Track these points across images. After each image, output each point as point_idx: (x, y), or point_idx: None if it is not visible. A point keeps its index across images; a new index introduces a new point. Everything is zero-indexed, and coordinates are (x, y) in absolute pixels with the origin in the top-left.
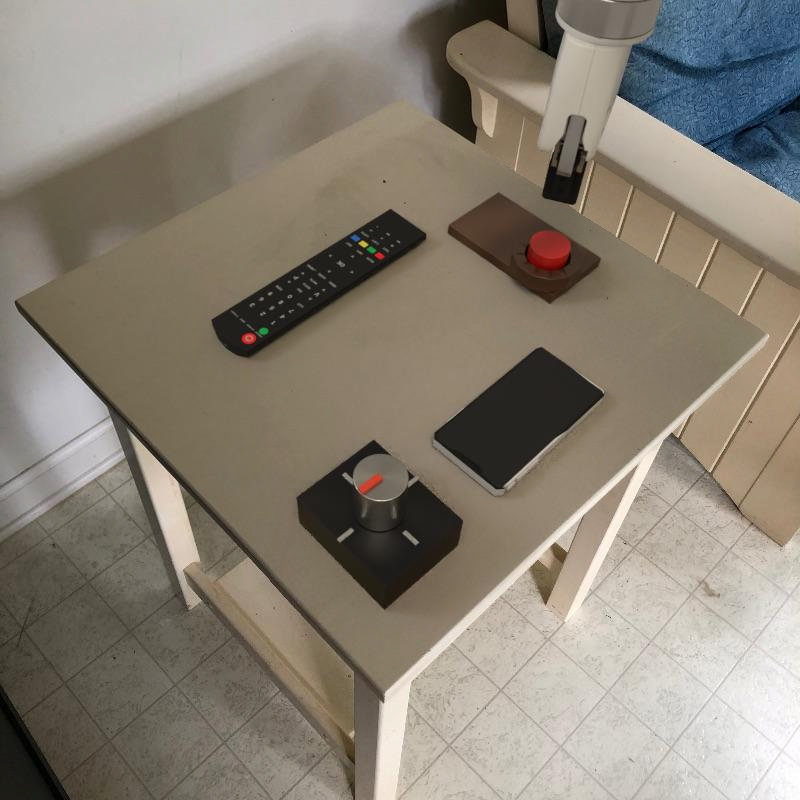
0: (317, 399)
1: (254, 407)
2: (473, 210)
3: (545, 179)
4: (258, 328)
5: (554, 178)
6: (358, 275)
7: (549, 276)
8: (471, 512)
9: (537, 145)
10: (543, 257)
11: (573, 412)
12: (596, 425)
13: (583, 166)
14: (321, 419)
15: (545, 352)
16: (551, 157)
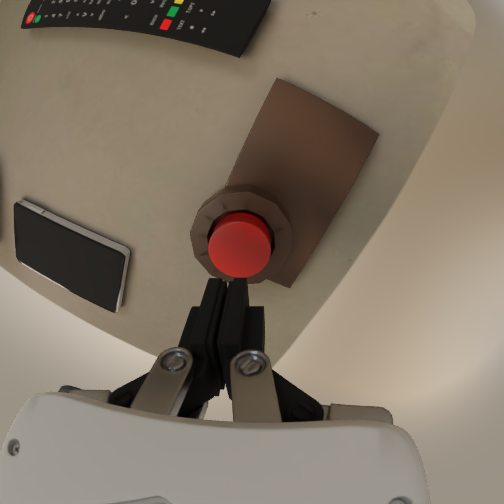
0: (15, 97)
1: (2, 68)
2: (325, 105)
3: (201, 305)
4: (39, 13)
5: (182, 335)
6: (123, 25)
7: (199, 253)
8: (10, 242)
9: (29, 398)
10: (208, 247)
11: (85, 294)
12: None
13: (217, 392)
14: (6, 113)
15: (121, 261)
16: (223, 337)
